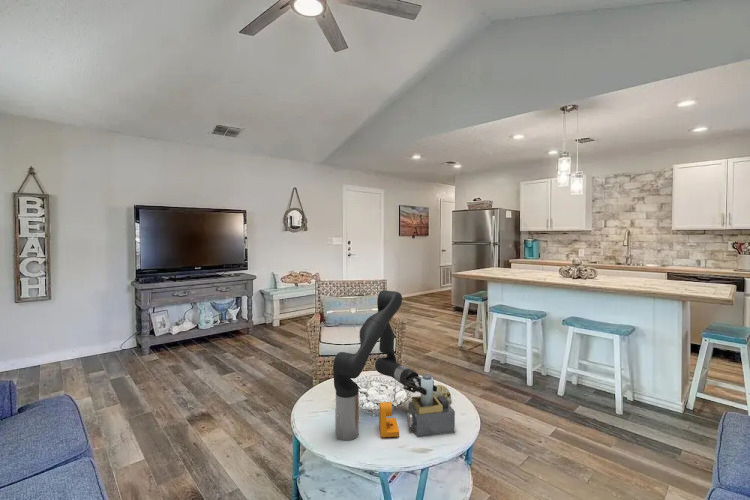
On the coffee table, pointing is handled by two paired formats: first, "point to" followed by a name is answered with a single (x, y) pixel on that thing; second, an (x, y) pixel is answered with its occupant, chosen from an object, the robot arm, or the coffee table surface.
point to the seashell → (443, 392)
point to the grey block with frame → (431, 417)
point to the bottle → (428, 385)
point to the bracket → (387, 421)
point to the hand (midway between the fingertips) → (431, 391)
